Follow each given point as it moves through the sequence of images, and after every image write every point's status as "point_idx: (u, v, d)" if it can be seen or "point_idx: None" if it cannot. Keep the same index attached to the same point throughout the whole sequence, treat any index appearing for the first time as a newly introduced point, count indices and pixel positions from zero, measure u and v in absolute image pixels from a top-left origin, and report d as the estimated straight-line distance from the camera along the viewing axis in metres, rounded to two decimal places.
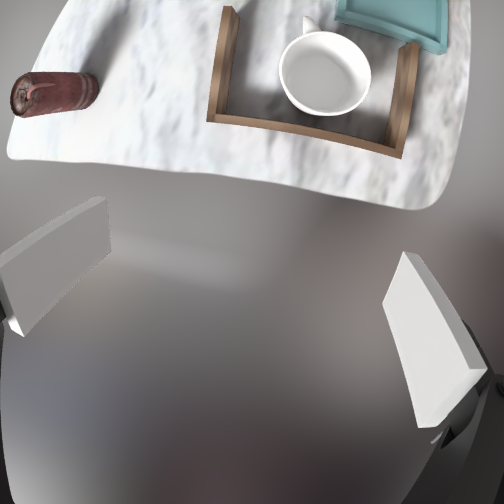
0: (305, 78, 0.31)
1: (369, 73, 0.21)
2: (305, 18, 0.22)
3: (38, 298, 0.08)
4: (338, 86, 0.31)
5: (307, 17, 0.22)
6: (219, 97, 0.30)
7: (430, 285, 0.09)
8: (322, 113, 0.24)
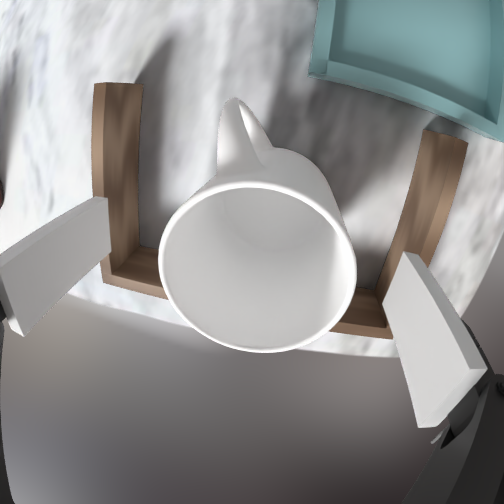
0: (252, 194, 0.21)
1: (352, 281, 0.12)
2: (223, 115, 0.12)
3: (38, 298, 0.08)
4: (308, 207, 0.21)
5: (227, 111, 0.12)
6: (114, 246, 0.20)
7: (430, 285, 0.09)
8: (247, 349, 0.14)
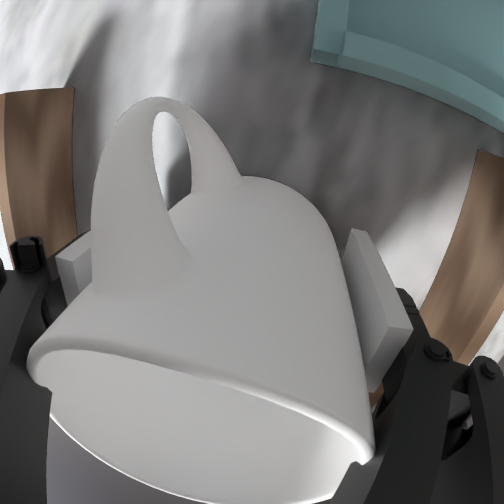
0: None
1: None
2: (108, 139, 0.05)
3: None
4: None
5: (117, 130, 0.05)
6: None
7: (369, 255, 0.10)
8: (196, 500, 0.07)
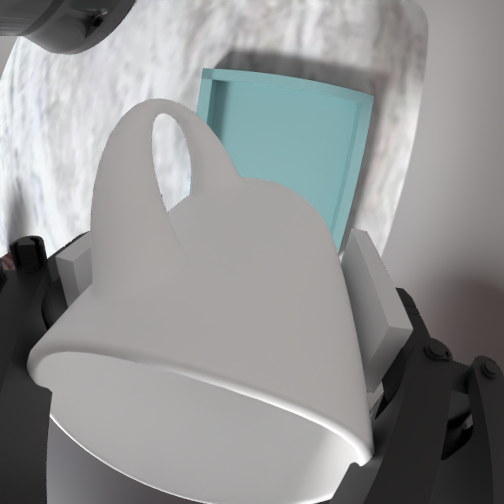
0: None
1: None
2: (108, 141, 0.05)
3: None
4: None
5: (117, 132, 0.05)
6: None
7: (368, 255, 0.10)
8: (195, 500, 0.07)
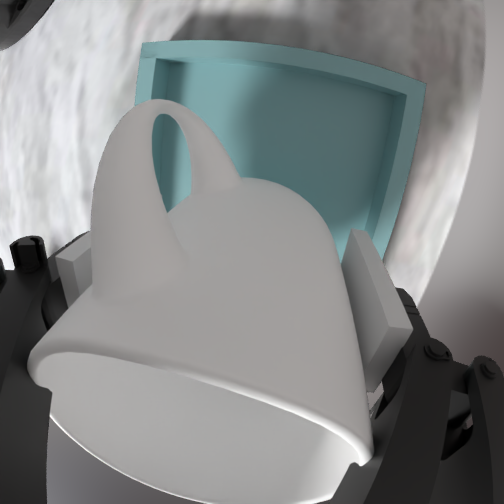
0: None
1: None
2: (108, 142, 0.05)
3: None
4: None
5: (117, 133, 0.05)
6: None
7: (368, 255, 0.10)
8: (195, 500, 0.07)
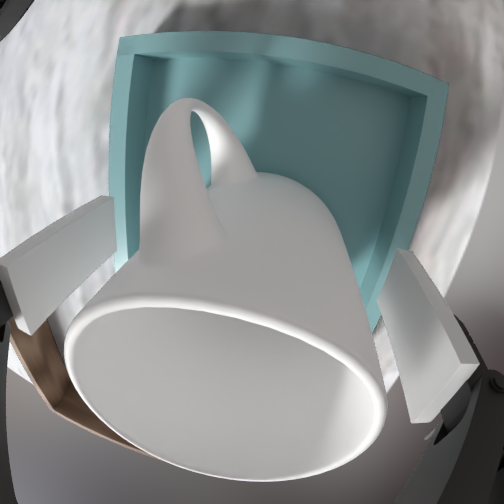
0: None
1: (374, 433, 0.06)
2: (154, 132, 0.06)
3: (45, 297, 0.08)
4: None
5: (162, 124, 0.06)
6: (51, 395, 0.24)
7: (423, 281, 0.09)
8: (214, 475, 0.08)
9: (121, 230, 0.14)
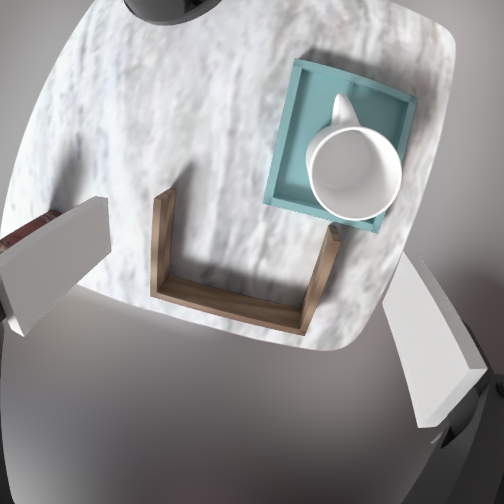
0: (328, 151, 0.33)
1: (400, 179, 0.23)
2: (342, 99, 0.23)
3: (38, 298, 0.08)
4: (360, 163, 0.33)
5: (344, 98, 0.23)
6: (159, 277, 0.40)
7: (430, 285, 0.09)
8: (346, 218, 0.26)
9: (282, 140, 0.31)
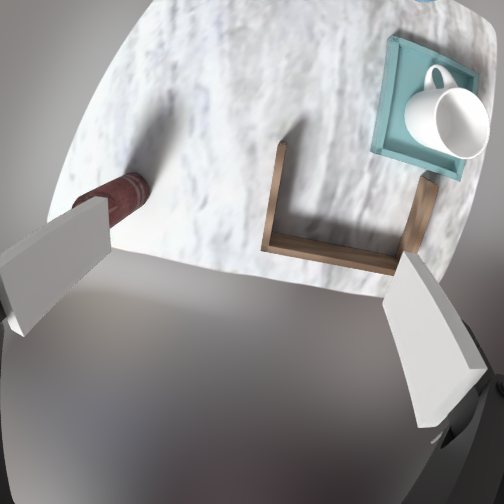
0: None
1: (489, 128, 0.23)
2: (443, 68, 0.24)
3: (38, 298, 0.08)
4: (443, 123, 0.33)
5: (444, 68, 0.24)
6: None
7: (430, 285, 0.09)
8: (458, 156, 0.26)
9: (389, 100, 0.32)
